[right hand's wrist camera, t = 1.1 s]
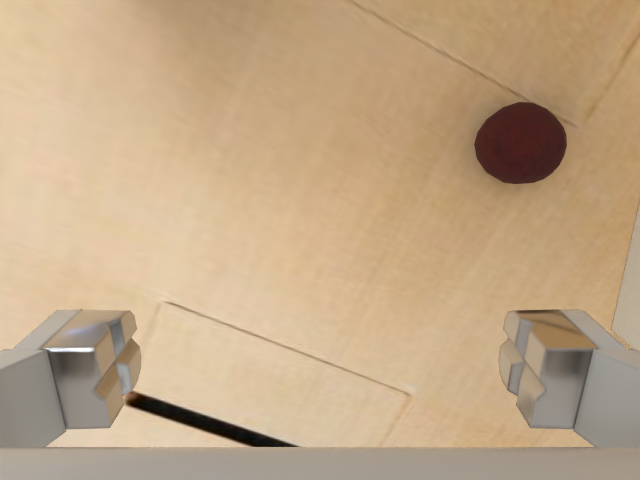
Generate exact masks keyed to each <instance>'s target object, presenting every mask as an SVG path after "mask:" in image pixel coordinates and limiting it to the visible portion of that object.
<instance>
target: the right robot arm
mask: <svg viewBox="0 0 640 480" xmlns="http://www.w3.org/2000/svg"><path fill="white" fill-rule="evenodd" d="M136 330H137V327H136V322H135V317H134V315H133V314H132V312H131V311H127V310H83V309H72V310H56V311H55V312H54V313H53V314H52V315H51V316H49V317H48V318H47V319H46V320H45V321H44V322H43V323H42V324H40V325H39V326H38V327H37V328H36V329H35V330H34V331H32V332H31V333H30V334H29V335H28V336H27V337H26V338H24V339H23V340H22V341H21V342H20V343H19V344H18V345H17V346H15V347H14V348H13V349H9V350H2V351H0V480H640V351H638V350H632V349H627V348H626V347H625V346H624V345H622V344H621V343H620V342H619V341H618V340H617V339H616V338H614V337H613V336H612V335H611V334H610V333H609V332H608V331H607V330H605V329H604V328H603V327H602V326H601V325H600V324H599V323H598V322H596V321H595V320H594V319H593V318H592V317H591V316H590V315H588V314H587V313H586V312H585V311H583V310H579V309H569V310H521V311H509V312H508V313H507V315H506V317H505V321H504V327H503V330H504V331H505V333H506V334H507V336H508V337H509V338H508V339H507V340H506V341H505V342H504V343H503V345H502V346H501V347H500V353H499V369H500V375H501V378H502V381H503V383H504V385H505V387H506V388H507V390H508V391H510V392H511V393H513V394H515V395H516V396H518V397H517V403H516V405H517V407H518V408H519V410H520V412H521V413H522V415H523V417H524V418H525V420H526V422H527V423H528V425H529V427H530V428H546V429H574V432H576V433H577V434H578V435H580V436H581V437H582V438H584V439H585V440H586V441H588V442H589V443H590V444H592V445H593V446H594V447H46V446H47V445H48V444H50V443H51V442H52V441H54V440H55V439H57V438H58V437H59V436H61V435H62V434H63V433H65V432H66V429H93V428H110V427H111V425H112V423H113V422H114V420H115V418H116V417H117V415H118V414H119V412H120V410H121V409H122V407H123V405H124V403H123V397H122V396H124V395H125V394H127V393H129V392H130V391H132V390H133V388H134V386H135V385H136V383H137V381H138V378H139V374H140V370H141V352H140V347H139V346H138V344H137V343H136V342H135V341H134V340H133V339H132V338H131V337H132V336H133V334H134V333H135V331H136Z"/></svg>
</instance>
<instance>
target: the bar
mask: <svg viewBox="0 0 640 480" xmlns="http://www.w3.org/2000/svg"><path fill="white" fill-rule="evenodd" d="M611 330H612V331H613V332H614V333H616V334H617V335H618V336H619V337H620V338H621V339H623V340H624V341H625V342H626V343H627V344H628V345H630V346H631V347H632V348H633V349H634V350H638V351H640V202H639V207H638V211H637V216H636V220H635V225H634V229H633V234H632V238H631V243H630V247H629V252H628V257H627V261H626V266H625V270H624V275H623V279H622V284H621V288H620V293H619V297H618V302H617V306H616V311H615V315H614V320H613V324H612V329H611Z"/></svg>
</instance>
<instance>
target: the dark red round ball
mask: <svg viewBox="0 0 640 480" xmlns="http://www.w3.org/2000/svg"><path fill="white" fill-rule="evenodd" d="M474 145H475V150H476V156H477V159H478V160H479V162H480V163H481V165H482V167H483V168H484V170H485V171H486V172H487V173H489V174H490V175H492V176H494V177H495V178H497V179H499V180H500V181H502V182H505V183H512V184H521V183H534V182H537V181H539V180H542V179H544V178H546V177H547V176H549V175H550V174H552V173H553V171H554V170H555V169H556V168H557V167H558V166H559V165H560V162H561V161H562V159H563V157H564V154H565V150H566V146H567V143H566V133H565V131H564V128H563V126H562V125H561V123H560V122H559V121H558V120H557V118H556V117H555V116H554V115H553V114H551V113H550V112H549V111H548V110H547V109H545V108H543V107H541V106H539V105H536V104H534V103H524V102H518V103H515V104H512V105H509V106H506V107H503V108H502V109H500V110H499V111H498V112H496V113H495V114H494V115H492V116H491V117H489V118H488V119H487V120H486V121H485V123H484V124H483V126H482V127H481V128H480V130H479V131H478V133H477V137H476V141H475V144H474Z"/></svg>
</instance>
